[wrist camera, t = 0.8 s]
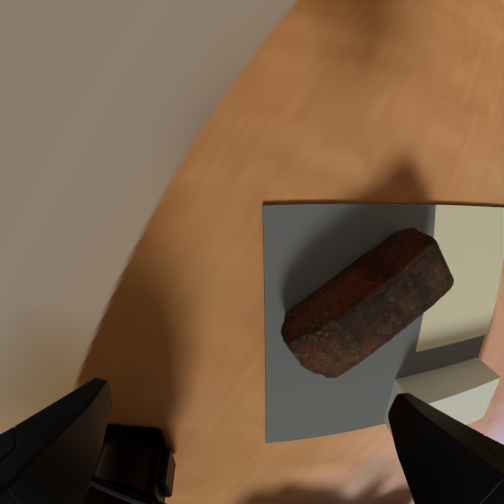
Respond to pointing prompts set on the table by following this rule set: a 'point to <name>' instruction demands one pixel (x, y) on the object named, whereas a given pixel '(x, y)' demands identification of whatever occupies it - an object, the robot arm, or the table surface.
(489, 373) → the block
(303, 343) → the brick
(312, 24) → the table surface
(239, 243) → the table surface
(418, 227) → the grey mat
